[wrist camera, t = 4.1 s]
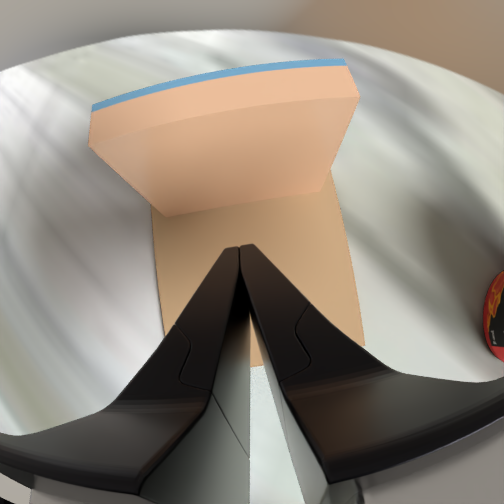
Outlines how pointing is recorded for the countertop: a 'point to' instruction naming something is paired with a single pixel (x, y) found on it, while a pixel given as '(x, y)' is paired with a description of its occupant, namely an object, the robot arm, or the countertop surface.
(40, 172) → the countertop surface
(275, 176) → the tile
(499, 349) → the canned food
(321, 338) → the robot arm
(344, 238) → the mat
